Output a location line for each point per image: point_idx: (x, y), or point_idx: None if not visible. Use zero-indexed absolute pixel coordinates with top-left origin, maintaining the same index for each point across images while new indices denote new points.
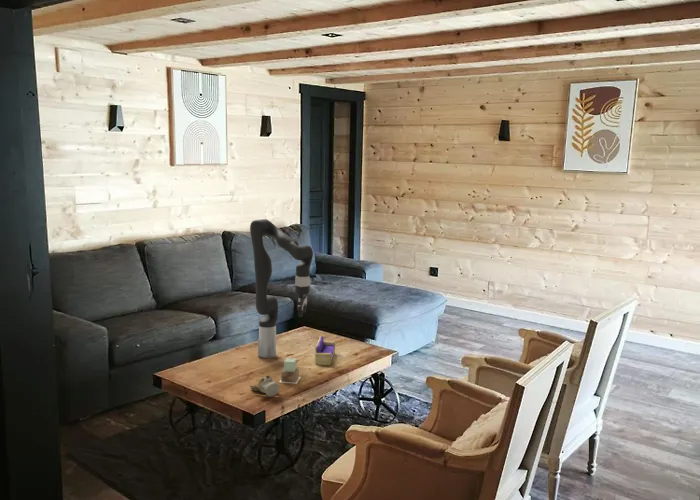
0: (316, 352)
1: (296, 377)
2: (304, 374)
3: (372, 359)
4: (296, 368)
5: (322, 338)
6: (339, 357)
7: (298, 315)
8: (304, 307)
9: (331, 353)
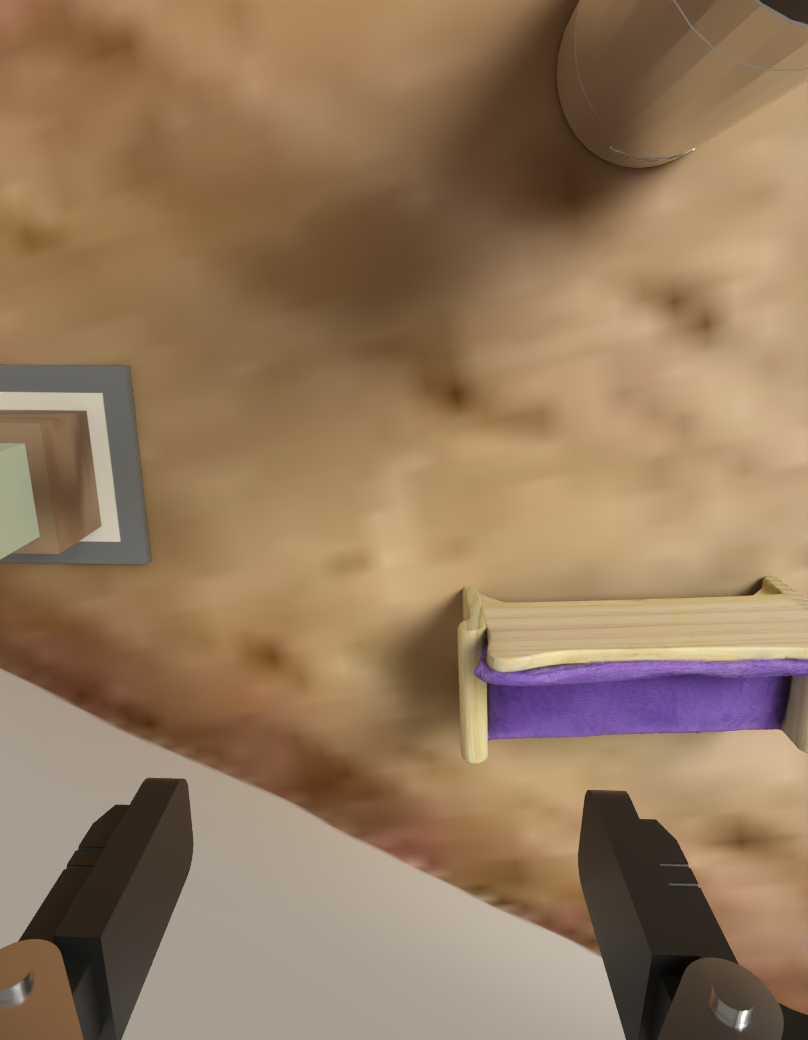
0: (488, 638)
1: None
2: (214, 547)
3: None
4: (37, 538)
5: (803, 675)
6: (653, 738)
7: (99, 819)
8: (623, 972)
9: (570, 733)
